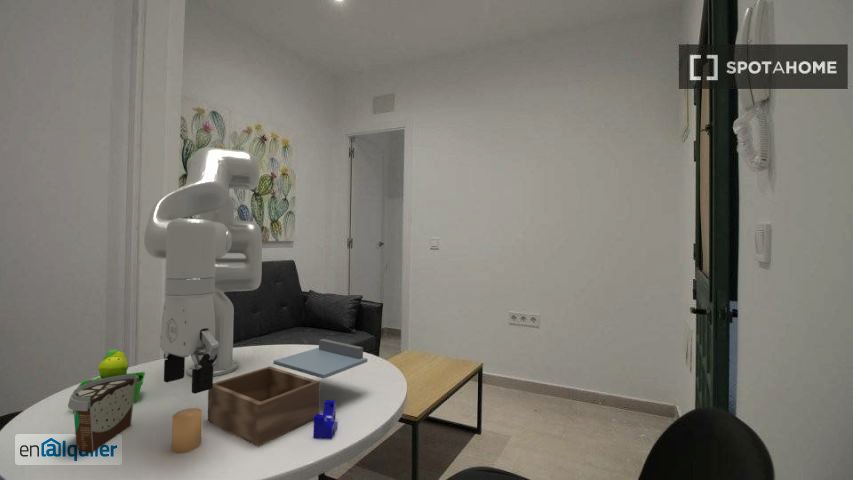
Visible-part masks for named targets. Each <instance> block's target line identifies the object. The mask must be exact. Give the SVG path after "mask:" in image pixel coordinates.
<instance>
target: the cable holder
mask: <svg viewBox="0 0 853 480" xmlns="http://www.w3.org/2000/svg"><path fill="white" fill-rule="evenodd" d="M336 407H337V400H332V399H331V400H329V399H328V400H325V401H324V403H323V411H322V414H320V413H319V414H316V416H315V417H314V420H313V433H312V434H313V435H312V436H313V437H312V438H313V439H319V440H320V439H322V440H325V439H326V440H333V437H334V436H335V434H336V432H337V430H338V421H336V416H337V415H336V411H337V408H336Z"/></svg>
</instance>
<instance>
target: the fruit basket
mask: <svg viewBox="0 0 853 480" xmlns="http://www.w3.org/2000/svg"><path fill="white" fill-rule="evenodd" d="M102 359H103V360H102V361H101V362H100V363H99V365H98V366H97V367H98V368H97V369H98V372H99V376H100V377H96V378H92V379H86V380H83V381H81V382H80V384H79V385H78V386H77V388H78V387H80V386H82V385H84V384H87V383H90V382H93V381H96V380H100V379H104V378H109V377H114V376H121V375H132V374H136V377H137V384H135V391H134V401H133V404H135V403H136V402H138V398H139V395H140V391H141V388H142V385H143V383H144V380H145V376H146V372H145V371H140V372H131V373H128V372H127V371H128V368H129V362H128V360H127V359H126V354H125V353H124V352H123V351H120V349H111V350H109V351H107V352H106V354H105V356H104V357H103V358H102Z"/></svg>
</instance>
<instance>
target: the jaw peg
mask: <svg viewBox="0 0 853 480" xmlns="http://www.w3.org/2000/svg"><path fill="white" fill-rule="evenodd" d="M202 415H203V410H202V409H201V408H198V407H190V408H184V409H181V410H179V411H176V412H175V413H174V414H173V415H172V419H171V420H172V421H171V422H172V423H171V424H172V425H171V452H173V453H175V454H183V453H184V454H185V453H188V452H191V451H194V450H196V449H198V448H199V447H200V446H201V444H202V421H203V420H202V419H203V418H202V417H203V416H202Z"/></svg>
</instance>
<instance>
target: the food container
mask: <svg viewBox="0 0 853 480" xmlns="http://www.w3.org/2000/svg"><path fill="white" fill-rule="evenodd" d="M135 384H137V377H136V374H132V375H121V376H114V377H109V378H104V379H100V380H96V381H93V382H90V383H87V384H84V385H82V386H80V387H78V386H77V387H76V388H75V389H74V390H73V392H72V394H71V395H70V397H69V401H68V404H67V407H68V409H70V410H72V411H73V419H74V431H75V433H74V434H75V442H76V443H75V445H76V449H77V451H80V452H83V453H93V452H95V451H96V450H97V449H99V448H100V447H102V446H104V444H107V442H109V441H111V440H112V439H113V438H115V437H117V436H118V435H119V434H121V433H123V431H125V430H126V429H128V428H130V427H132V420H133V410H134V403H133V401H134V391H135Z"/></svg>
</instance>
